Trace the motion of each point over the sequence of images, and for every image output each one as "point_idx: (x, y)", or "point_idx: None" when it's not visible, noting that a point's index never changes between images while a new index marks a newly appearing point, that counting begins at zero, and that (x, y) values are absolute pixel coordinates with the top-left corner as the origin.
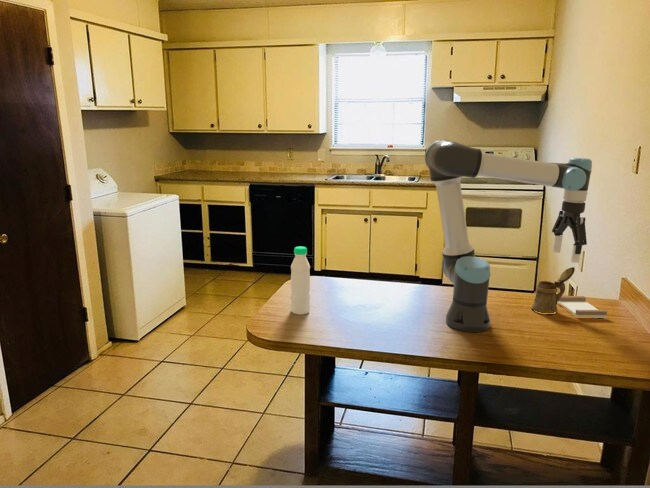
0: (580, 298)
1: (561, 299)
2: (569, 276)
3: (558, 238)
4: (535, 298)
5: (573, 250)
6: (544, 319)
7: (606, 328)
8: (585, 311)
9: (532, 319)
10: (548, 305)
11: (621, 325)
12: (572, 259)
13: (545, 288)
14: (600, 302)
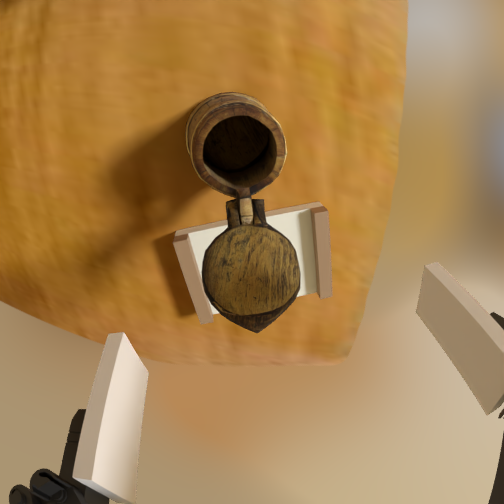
0: (318, 283)
1: (313, 221)
2: (204, 275)
3: (490, 375)
4: (232, 98)
5: (85, 424)
6: (142, 120)
7: (127, 289)
8: (180, 265)
9: (133, 79)
10: (189, 143)
11: (164, 328)
12: (102, 355)
13: (197, 131)
14: (331, 325)
